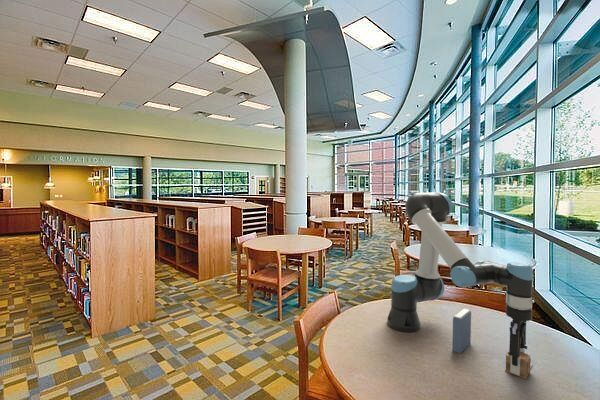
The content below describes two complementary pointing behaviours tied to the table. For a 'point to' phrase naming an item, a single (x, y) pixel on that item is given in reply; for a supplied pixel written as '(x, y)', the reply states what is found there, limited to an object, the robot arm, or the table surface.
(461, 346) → the navy book
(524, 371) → the letter block
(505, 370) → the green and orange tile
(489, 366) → the table surface
